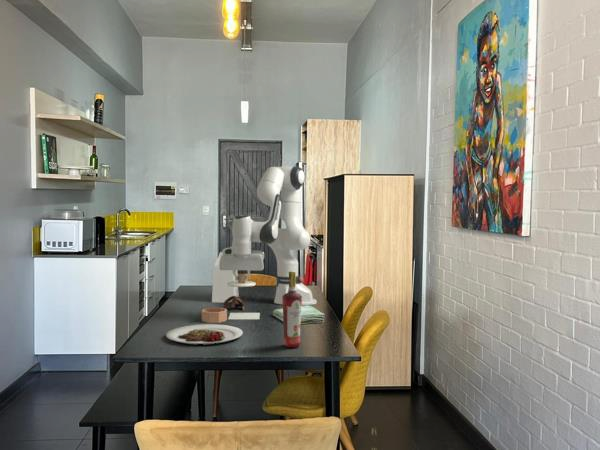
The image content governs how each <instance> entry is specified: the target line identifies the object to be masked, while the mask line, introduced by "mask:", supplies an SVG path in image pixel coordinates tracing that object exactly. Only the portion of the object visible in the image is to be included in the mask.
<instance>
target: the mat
mask: <svg viewBox="0 0 600 450" xmlns="http://www.w3.org/2000/svg"><path fill="white" fill-rule="evenodd" d="M260 316H261V313H260V312H229V316H228V317H227V320H260Z"/></svg>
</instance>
